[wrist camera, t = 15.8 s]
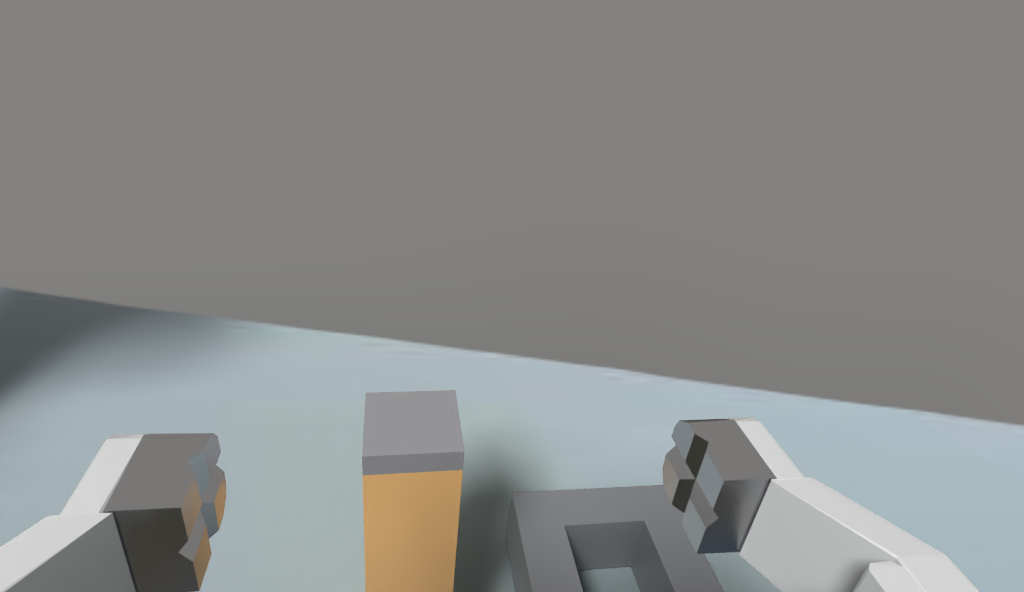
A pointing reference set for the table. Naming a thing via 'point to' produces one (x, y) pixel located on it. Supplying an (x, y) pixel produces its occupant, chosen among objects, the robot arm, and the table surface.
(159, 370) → the table surface
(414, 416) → the plug
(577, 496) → the grey square block
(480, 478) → the table surface
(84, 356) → the table surface
